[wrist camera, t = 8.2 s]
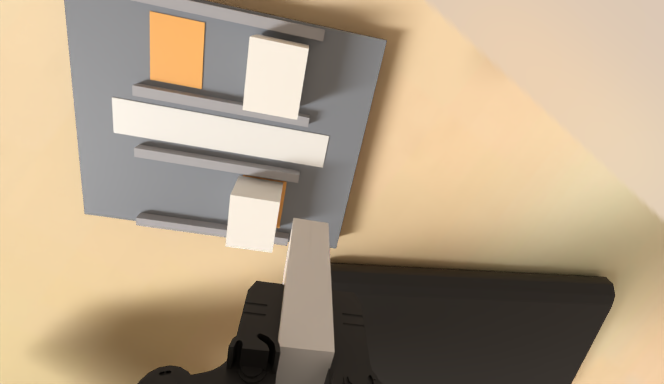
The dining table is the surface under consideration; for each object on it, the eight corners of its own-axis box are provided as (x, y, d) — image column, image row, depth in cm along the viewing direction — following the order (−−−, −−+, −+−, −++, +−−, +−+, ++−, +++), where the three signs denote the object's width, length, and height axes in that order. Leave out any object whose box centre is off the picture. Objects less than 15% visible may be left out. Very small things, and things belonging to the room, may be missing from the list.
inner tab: (276, 228, 35) (272, 252, 32) (234, 222, 35) (225, 246, 31) (283, 182, 33) (280, 202, 30) (239, 175, 33) (230, 194, 29)
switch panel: (334, 237, 39) (336, 254, 36) (96, 204, 36) (78, 219, 33) (382, 39, 31) (389, 41, 28) (77, -28, 28) (52, -33, 25)
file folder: (308, 429, 47) (325, 277, 37) (308, 399, 51) (324, 254, 41) (548, 431, 50) (622, 291, 40) (531, 403, 54) (596, 268, 44)
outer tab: (298, 107, 30) (297, 120, 27) (250, 98, 30) (242, 109, 26) (308, 45, 28) (308, 48, 25) (257, 34, 28) (249, 36, 24)
